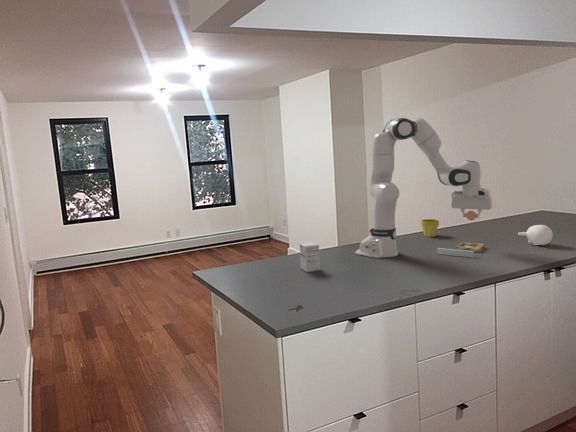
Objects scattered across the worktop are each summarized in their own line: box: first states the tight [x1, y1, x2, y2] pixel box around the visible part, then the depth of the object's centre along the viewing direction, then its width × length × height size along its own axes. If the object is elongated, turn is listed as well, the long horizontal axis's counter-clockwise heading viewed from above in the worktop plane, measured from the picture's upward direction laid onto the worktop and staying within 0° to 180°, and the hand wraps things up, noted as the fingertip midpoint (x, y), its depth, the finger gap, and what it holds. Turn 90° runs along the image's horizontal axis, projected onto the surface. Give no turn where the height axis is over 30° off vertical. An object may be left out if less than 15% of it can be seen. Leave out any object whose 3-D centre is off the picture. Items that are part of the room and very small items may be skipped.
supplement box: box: [299, 241, 321, 273], centre depth 230 cm, size 7×7×13 cm
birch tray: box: [455, 241, 486, 254], centre depth 257 cm, size 12×12×2 cm
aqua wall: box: [436, 247, 475, 259], centre depth 245 cm, size 18×1×3 cm, turn 54°
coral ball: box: [465, 210, 477, 221], centre depth 254 cm, size 5×5×5 cm
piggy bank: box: [517, 224, 554, 246], centre depth 259 cm, size 12×12×15 cm
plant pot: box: [420, 218, 440, 238], centre depth 294 cm, size 10×10×10 cm
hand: (471, 217), depth 254 cm, fingers closed on coral ball, 5 cm apart
